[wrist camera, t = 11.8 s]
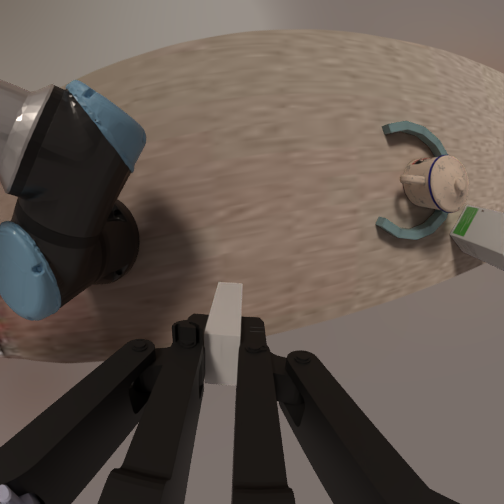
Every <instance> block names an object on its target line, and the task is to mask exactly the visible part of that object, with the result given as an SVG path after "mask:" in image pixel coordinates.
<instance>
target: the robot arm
mask: <svg viewBox="0 0 504 504" xmlns="http://www.w3.org/2000/svg"><path fill="white" fill-rule="evenodd" d="M65 88H66V90H63V89H61V88H59V87H57V86H55V85H53V84H51V85H48V86H46V87H43V88H41V89H39V90H37V91H32V92H30V91H28V90H25V89H23V88H20V87H18V86H16V85H13V84H11V83H8V82H6V81H3V80H0V181H1V183H2V186H3V188H4V191H5V193H7V194H11V195H14V196H17V197H18V199H17V202H16V206H15V209H14V213H13V216H12V219H11V221H5V222H2V223H1V224H0V295H1V296H2V298H3V299H4V301H5V302H6V303H7V305H8V306H9V307H10V308H11V309H12V310H13V311H14V312H15V313H17V314H18V315H19V316H21V317H23V318H25V319H28V320H41V319H44V318H45V317H47V316H49V315H51V314H54V313H56V312H57V311H58V310H59V308H61V307H62V306H63V305H65V304H66V303H67V302H69V301H70V300H71V299H73V298H74V297H75V296H77V295H78V294H79V293H81V292H82V291H84V290H85V289H86V288H88V287H89V286H90V285H95V284H108V283H111V282H114V281H116V280H118V279H119V278H121V277H122V276H123V275H124V274H126V273H127V272H128V271H129V270H130V268H131V267H132V266H133V264H134V262H135V260H136V257H137V254H138V249H139V234H138V229H137V225H136V222H135V220H134V218H133V216H132V214H131V212H130V211H129V210H128V208H127V207H126V206H125V205H124V204H123V203H122V202H120V201H119V200H117V198H118V196H119V194H120V192H121V191H122V189H123V187H124V185H125V183H126V181H127V179H128V177H129V176H130V174H131V173H133V171H134V165H135V163H136V161H137V160H138V158H139V156H140V154H141V152H142V150H143V148H144V146H145V144H146V134H145V131H144V129H143V128H142V127H141V126H140V125H139V124H138V123H137V122H136V121H135V120H134V119H133V118H131V117H130V116H129V115H128V114H127V113H125V112H124V111H123V110H121V109H120V108H119V107H118V106H116V105H115V104H113V103H112V102H111V101H109V100H108V99H107V98H105V97H104V96H102V95H101V94H99V93H97V92H96V91H94V90H93V89H91V88H90V87H88V86H87V85H86V84H84V83H82V82H81V81H78V80H73V81H71V82H70V83H69V84H67V86H66V87H65ZM242 284H243V283H228V282H218V286H217V289H216V293H215V296H214V300H213V303H212V307H211V310H210V314H209V315H204V314H193V315H191V316H190V317H188V320H183V321H178V322H176V323H174V324H173V325H172V336H173V343H172V345H171V347H168V348H157V349H155V346H154V344H153V343H152V342H151V341H149V340H145V339H136V340H132V341H130V342H128V343H127V344H125V345H124V346H123V347H122V348H120V349H119V350H118V351H117V352H116V353H114V354H113V355H112V356H111V357H109V358H108V359H107V360H106V361H104V362H103V363H102V364H101V365H100V366H98V367H97V368H96V369H95V370H94V371H92V372H91V373H90V374H89V375H87V376H86V377H85V378H84V379H83V380H81V381H80V382H79V383H78V384H76V385H75V386H74V387H73V388H71V389H70V390H69V391H68V392H67V393H66V394H64V395H63V396H62V397H61V398H59V399H58V400H57V401H56V402H54V403H53V404H52V405H51V406H50V407H48V408H47V409H46V410H45V411H44V412H42V413H41V414H40V415H39V416H38V417H36V418H35V419H34V420H33V421H32V422H31V423H29V424H28V425H27V426H26V427H24V428H23V429H22V430H21V431H20V432H18V433H17V434H16V435H15V436H14V437H12V438H11V439H10V440H9V441H8V442H6V443H5V444H4V445H3V446H2V447H0V504H71V503H72V502H73V501H74V500H75V499H76V497H77V496H78V495H79V494H80V493H81V492H82V490H83V489H84V488H85V487H86V486H87V484H88V483H89V482H90V481H91V480H92V478H93V477H94V476H95V475H96V473H97V472H98V471H99V470H100V469H101V468H102V466H103V465H104V464H105V463H106V461H107V460H108V459H109V458H110V457H111V455H112V454H113V453H114V452H115V451H116V449H117V448H118V447H119V445H121V443H122V442H123V441H124V440H125V438H126V437H127V436H128V435H129V433H130V432H131V431H132V430H133V429H134V427H135V426H136V425H137V424H138V422H139V424H138V426H137V429H136V431H135V434H134V436H133V439H132V441H131V444H130V446H129V449H128V452H127V454H126V457H125V459H124V462H123V464H122V466H121V467H120V468H118V469H117V468H114V469H113V470H112V471H111V472H110V474H109V476H108V478H107V480H106V483H105V486H104V488H103V491H102V494H101V496H100V499H99V501H98V504H184V501H185V494H186V488H187V482H188V476H189V470H190V463H191V458H192V453H193V447H194V441H195V435H196V430H197V424H198V419H199V413H200V408H201V402H202V397H203V392H204V377H205V383H209V384H221V385H235V386H236V387H237V388H236V403H235V404H236V405H235V427H234V451H233V475H232V476H233V477H232V478H233V479H232V501H231V504H295V498H294V493H293V491H292V489H291V488H289V487H288V484H287V478H286V469H285V462H284V454H283V446H282V438H281V432H280V423H279V415H278V408H277V401H279V405H280V407H281V409H282V411H283V413H284V415H285V417H286V419H287V421H288V423H289V425H290V427H291V428H292V430H293V432H294V434H295V436H296V438H297V439H298V441H299V443H300V445H301V447H302V449H303V451H304V453H305V454H306V456H307V458H308V460H309V462H310V463H311V465H312V467H313V469H314V471H315V472H316V474H317V476H318V478H319V479H320V481H321V483H322V485H323V486H324V488H325V490H326V491H327V493H328V495H329V497H330V498H331V500H332V502H333V503H334V504H460V503H457V502H455V501H453V500H451V499H449V498H447V497H445V496H443V495H441V494H439V493H437V492H435V491H433V490H431V489H429V488H428V486H427V485H426V484H425V483H424V482H423V481H422V480H421V479H420V477H419V476H418V475H417V474H416V473H415V472H414V470H413V469H412V468H411V467H410V466H409V465H408V464H407V463H406V461H405V460H404V459H403V458H402V457H401V456H400V455H399V453H398V452H397V451H396V450H395V449H394V448H393V446H392V445H391V444H390V443H389V442H388V441H387V439H386V438H385V437H384V436H383V435H382V434H381V433H380V432H379V430H378V429H377V428H376V427H375V426H374V424H373V423H372V422H371V421H370V420H369V418H368V417H367V416H366V415H365V414H364V413H363V411H362V410H361V409H360V408H359V407H358V406H357V404H356V403H355V402H354V401H353V400H352V398H351V397H350V396H349V395H348V394H347V393H346V391H345V390H344V389H343V388H342V387H341V385H340V384H339V383H338V382H337V381H336V379H335V378H334V377H333V376H332V375H331V373H330V372H329V371H328V370H327V369H326V367H325V366H324V365H323V364H322V363H321V361H320V360H319V359H318V358H317V357H316V356H315V355H314V354H312V353H310V352H307V351H293V352H291V353H289V354H288V356H287V358H285V357H280V356H277V355H275V354H273V353H271V352H270V349H269V347H268V346H267V343H266V335H265V328H264V322H263V321H262V320H261V319H260V318H257V317H241V309H242Z"/></svg>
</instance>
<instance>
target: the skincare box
mask: <svg viewBox="0 0 504 504" xmlns="http://www.w3.org/2000/svg"><path fill="white" fill-rule="evenodd" d="M450 236H451V237H452V238H453V240H454V241H455V242H456V244H457V245H458V246H459V248H460V249H461V250H462V252H464V253H466V254H468V255H470V256H473V257H475V258H477V259H479V260H482V261H484V262H486V263H488V264H490V265H492V266H495V267H497V268H499V269H501V270H503V271H504V212H499V211H495V210H491V209H486V208H482V207H477V206H472V205H466V207H465V209H464V211H463V212H462V214H461V216H460V218H459V219H458V221H457V223H456V225H455V226H454V228H453V230H452V231H451V233H450Z"/></svg>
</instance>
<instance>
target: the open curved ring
mask: <svg viewBox="0 0 504 504" xmlns="http://www.w3.org/2000/svg"><path fill="white" fill-rule="evenodd" d="M382 128H383V131H384V134H385V135H386V134H391V133H396V132H404V133H408V134H411V135H414V136H417V137H418V138H419V139H420V140H421V141H423V142H424V143H425V144H426V145H427V146H429V148H430V149H431V151H432V153H433V155H434V156H435V157H439V156H441V155H448V154H447V152H446V150H445V148H444V147H443V145H442V143H441V142H440V140H439V139H438V138H437V137H436V136H435V135H433V134H432V133H431V132H430V131H429V130H428V129H427V128H425V127H424V126H421V125H418V124H415V123H412V122H409V121H402V122H396V123H391V124H387V125H384V126H382ZM447 215H448V213H446V212H443V211H442V210H438V209H435V212H434V213H433V214H432V215H431V216H430V217H429V218H428V219H427V220H426V221H425V223H424V224H421V225H418V226H416V227H413V228H411V229H407V228H399V227H398V226H396V225H395V224H393V223H392V222H390V221H389V220H388V219H386V218H383V217H379V218H378V220H377V222H376V225H377V226H379V227H380V228H382V229H383V230H385V231H386V232H388V233H389V234H391V235H393V236H395V237H398V238H406V239H414V240H417V239H420V238H422V237H425V236H427V235H430V234H432V233H434V232H435V231H436V230H437V228H438V227H439V226H440V225H441V224H442V223H443V222H444V221H445V220H446V218H447Z"/></svg>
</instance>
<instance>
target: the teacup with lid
mask: <svg viewBox="0 0 504 504" xmlns="http://www.w3.org/2000/svg"><path fill="white" fill-rule="evenodd" d="M400 182H401V183H403V186H404V190H405V193H406V195H407V197H408V198H409V200H410V201H411V202H412V203H413V204H415V205H417V206H420V207H426V208H432V209H438V210H442V211H443V212H446V213H453V212H456V211H458V210H459V209H461V208H462V207H463V205H464V204H465V202H466V200H467V197H468V193H469V180H468V176H467V172H466V170H465V168H464V166H463V165H462V163H461V162H460V161H459V160H458V159H456V158H455V157H453V156H451V155H441V156H439V157H432V158H422V159H416V160H413V161H412V162H410V163H409V164H408V166H407V167H406V169H405V172H404V175H401V176H400Z"/></svg>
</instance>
